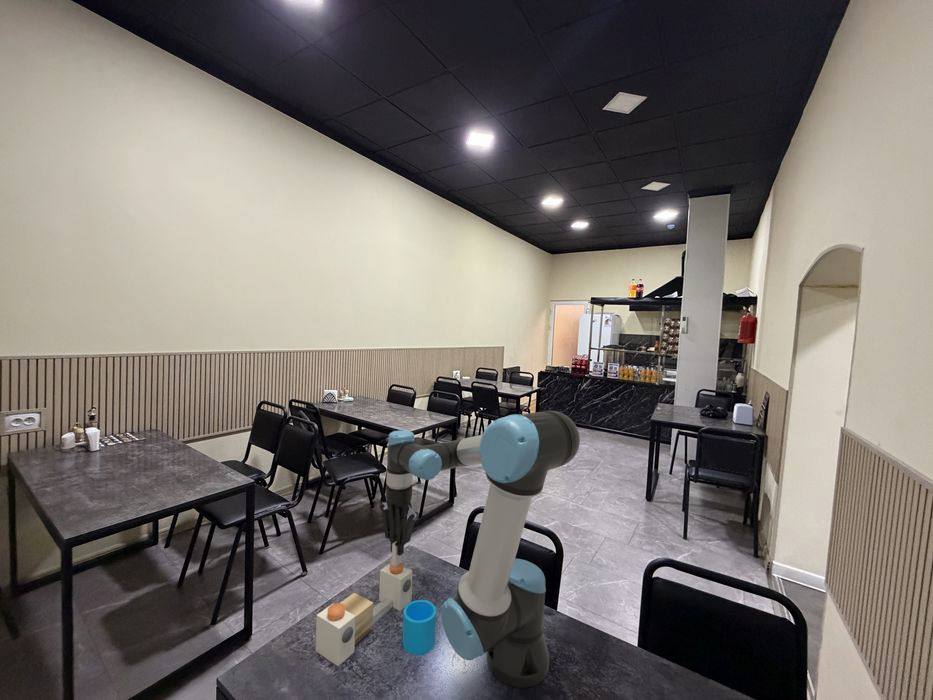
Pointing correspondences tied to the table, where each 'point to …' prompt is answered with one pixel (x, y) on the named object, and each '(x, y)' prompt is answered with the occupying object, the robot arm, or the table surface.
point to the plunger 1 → (336, 611)
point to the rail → (382, 609)
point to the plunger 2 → (396, 568)
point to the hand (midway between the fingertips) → (396, 564)
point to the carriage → (360, 614)
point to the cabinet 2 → (396, 587)
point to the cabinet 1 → (335, 636)
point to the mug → (419, 627)
